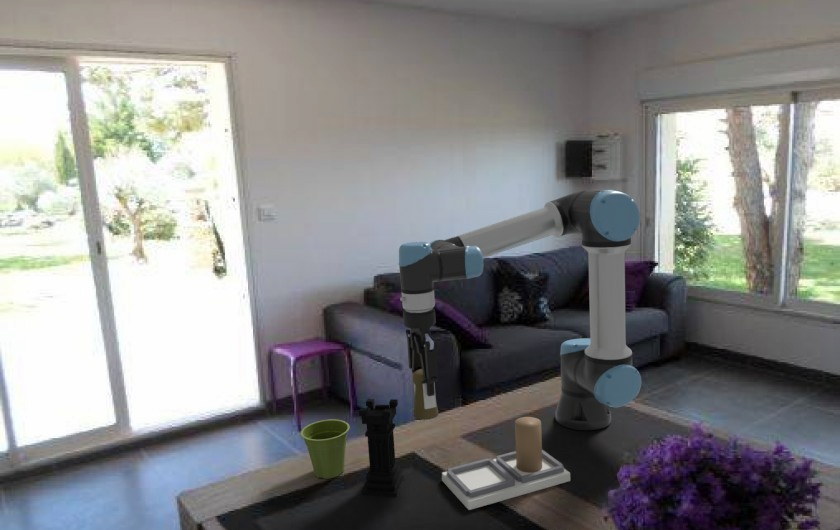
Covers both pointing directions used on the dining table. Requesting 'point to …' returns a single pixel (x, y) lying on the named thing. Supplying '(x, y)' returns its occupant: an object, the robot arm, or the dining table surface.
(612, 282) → the robot arm
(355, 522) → the dining table surface
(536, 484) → the pin board
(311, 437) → the plant pot
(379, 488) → the chess piece
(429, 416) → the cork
